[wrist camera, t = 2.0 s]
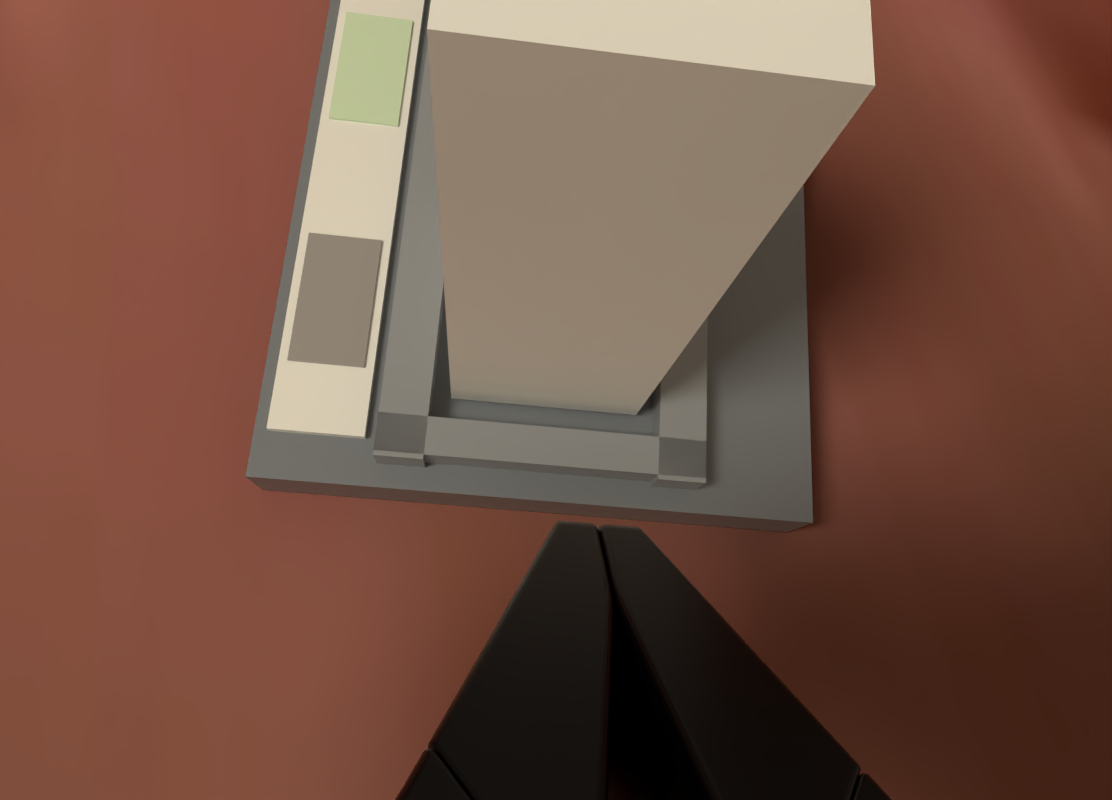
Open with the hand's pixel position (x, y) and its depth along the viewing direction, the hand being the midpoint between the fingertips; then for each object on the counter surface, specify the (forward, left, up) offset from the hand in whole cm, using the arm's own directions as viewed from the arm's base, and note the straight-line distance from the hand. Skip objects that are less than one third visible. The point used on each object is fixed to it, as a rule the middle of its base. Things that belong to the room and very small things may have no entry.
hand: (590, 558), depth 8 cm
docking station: (+7, +6, -10) cm, 14 cm away
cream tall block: (+5, +4, -9) cm, 11 cm away
